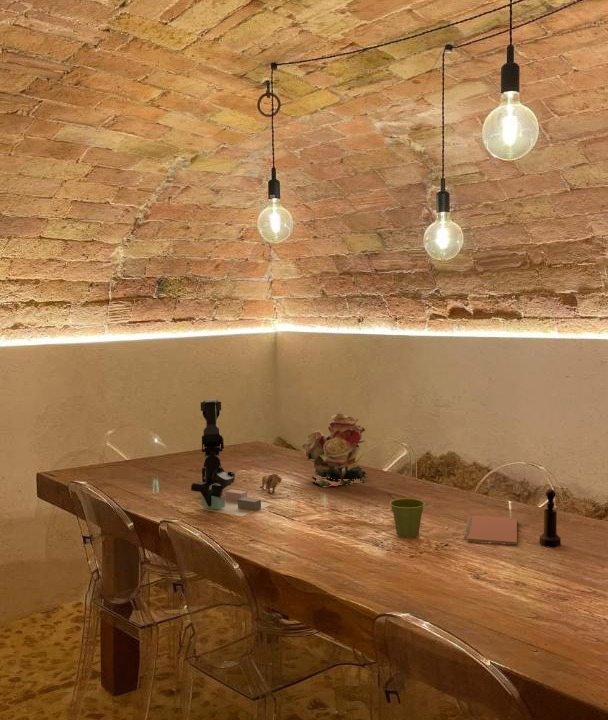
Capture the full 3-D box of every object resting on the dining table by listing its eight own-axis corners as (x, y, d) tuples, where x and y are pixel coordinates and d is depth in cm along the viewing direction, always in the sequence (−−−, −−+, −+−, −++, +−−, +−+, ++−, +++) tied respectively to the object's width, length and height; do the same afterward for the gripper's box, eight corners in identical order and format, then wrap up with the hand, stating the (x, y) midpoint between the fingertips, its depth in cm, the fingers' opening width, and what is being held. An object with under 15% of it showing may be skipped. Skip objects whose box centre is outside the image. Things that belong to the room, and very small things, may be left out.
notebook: (468, 520, 275) (468, 514, 275) (516, 523, 271) (516, 517, 271) (463, 543, 249) (463, 537, 249) (516, 547, 245) (516, 541, 245)
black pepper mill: (543, 539, 250) (543, 485, 249) (563, 543, 247) (563, 488, 245) (536, 545, 245) (537, 490, 244) (557, 548, 241) (557, 492, 240)
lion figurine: (283, 495, 312) (283, 473, 311) (272, 497, 309) (272, 475, 308) (265, 488, 324) (264, 467, 323) (254, 490, 321) (254, 469, 320)
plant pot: (393, 529, 264) (392, 497, 263) (427, 531, 260) (427, 499, 260) (386, 539, 253) (386, 506, 252) (422, 542, 249) (422, 508, 248)
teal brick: (201, 506, 291) (201, 497, 291) (208, 504, 295) (208, 495, 294) (217, 509, 287) (217, 500, 287) (224, 506, 290) (224, 497, 290)
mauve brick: (225, 499, 303) (225, 491, 303) (231, 497, 306) (231, 489, 306) (241, 502, 299) (241, 493, 298) (247, 500, 302) (247, 491, 302)
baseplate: (200, 510, 291) (200, 499, 290) (233, 498, 307) (233, 488, 307) (241, 518, 280) (241, 507, 279) (273, 505, 296) (273, 495, 296)
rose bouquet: (300, 475, 346) (300, 410, 344) (364, 473, 350) (363, 408, 347) (307, 489, 321) (306, 419, 319) (375, 486, 324) (375, 417, 322)
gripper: (212, 472, 277) (213, 514, 279) (244, 462, 293) (245, 502, 294) (189, 468, 284) (190, 509, 285) (222, 459, 299) (222, 498, 300)
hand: (213, 505), depth 291 cm, fingers closed on teal brick, 4 cm apart
